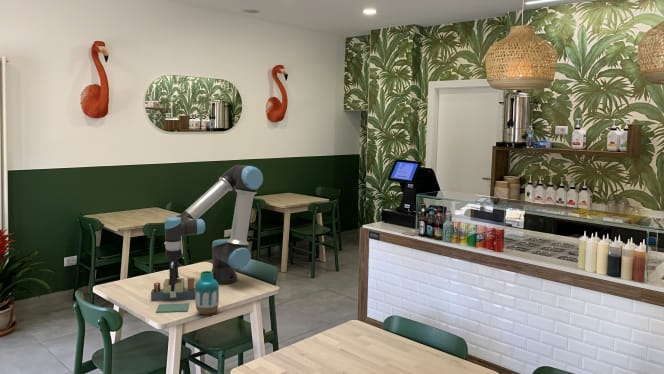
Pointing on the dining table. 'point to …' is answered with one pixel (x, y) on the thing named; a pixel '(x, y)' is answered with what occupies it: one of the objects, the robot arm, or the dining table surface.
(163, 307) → the felt pad
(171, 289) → the robot arm
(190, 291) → the knobbed metal bar
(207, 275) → the vase
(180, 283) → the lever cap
